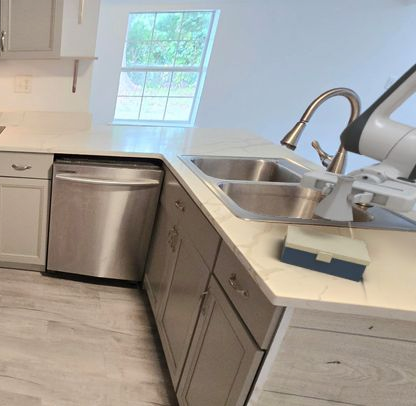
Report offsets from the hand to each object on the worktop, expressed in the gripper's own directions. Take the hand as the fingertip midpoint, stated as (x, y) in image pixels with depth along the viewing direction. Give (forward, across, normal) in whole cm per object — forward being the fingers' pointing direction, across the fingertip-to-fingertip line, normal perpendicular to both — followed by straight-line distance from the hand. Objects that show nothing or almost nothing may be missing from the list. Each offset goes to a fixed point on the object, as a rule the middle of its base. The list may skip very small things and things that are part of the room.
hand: (338, 195), depth 85 cm
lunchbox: (+2, +1, +17) cm, 17 cm away
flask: (-1, 0, +6) cm, 6 cm away
